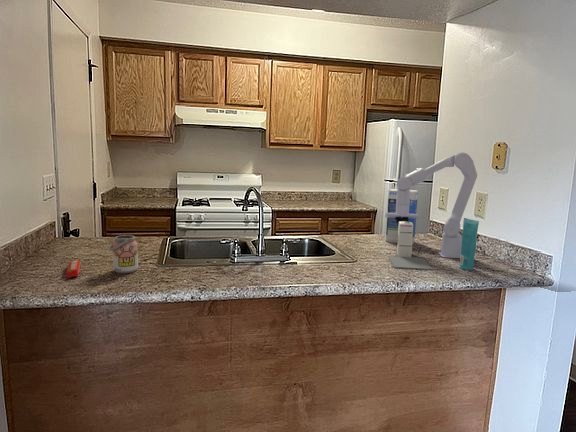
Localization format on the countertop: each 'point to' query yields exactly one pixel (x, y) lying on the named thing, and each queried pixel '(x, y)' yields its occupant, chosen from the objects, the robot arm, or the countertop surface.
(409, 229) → the syrup box
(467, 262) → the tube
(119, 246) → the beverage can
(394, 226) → the string lights box
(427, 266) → the mat
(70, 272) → the candy bar
